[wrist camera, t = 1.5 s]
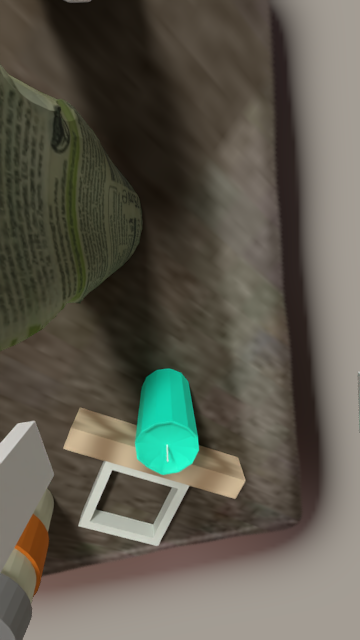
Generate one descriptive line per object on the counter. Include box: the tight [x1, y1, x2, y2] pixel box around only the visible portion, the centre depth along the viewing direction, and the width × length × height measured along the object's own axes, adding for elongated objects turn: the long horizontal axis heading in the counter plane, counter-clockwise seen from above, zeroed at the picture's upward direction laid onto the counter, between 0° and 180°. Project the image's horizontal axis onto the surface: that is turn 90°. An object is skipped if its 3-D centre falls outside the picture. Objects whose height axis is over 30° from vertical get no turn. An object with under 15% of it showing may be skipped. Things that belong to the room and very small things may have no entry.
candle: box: [135, 368, 199, 475], centre depth 32 cm, size 6×6×12 cm
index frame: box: [78, 461, 189, 546], centre depth 42 cm, size 11×11×2 cm
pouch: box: [0, 65, 143, 351], centre depth 20 cm, size 11×12×25 cm
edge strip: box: [63, 408, 246, 499], centre depth 38 cm, size 22×3×4 cm, turn 67°
